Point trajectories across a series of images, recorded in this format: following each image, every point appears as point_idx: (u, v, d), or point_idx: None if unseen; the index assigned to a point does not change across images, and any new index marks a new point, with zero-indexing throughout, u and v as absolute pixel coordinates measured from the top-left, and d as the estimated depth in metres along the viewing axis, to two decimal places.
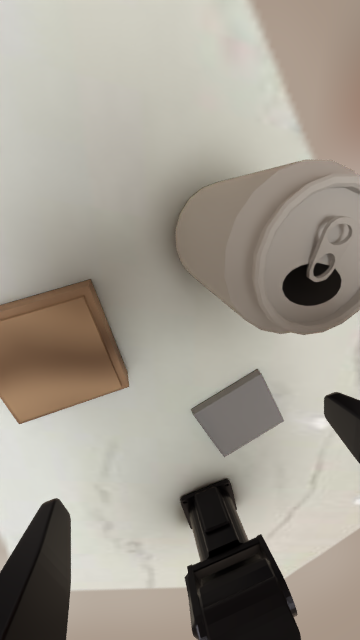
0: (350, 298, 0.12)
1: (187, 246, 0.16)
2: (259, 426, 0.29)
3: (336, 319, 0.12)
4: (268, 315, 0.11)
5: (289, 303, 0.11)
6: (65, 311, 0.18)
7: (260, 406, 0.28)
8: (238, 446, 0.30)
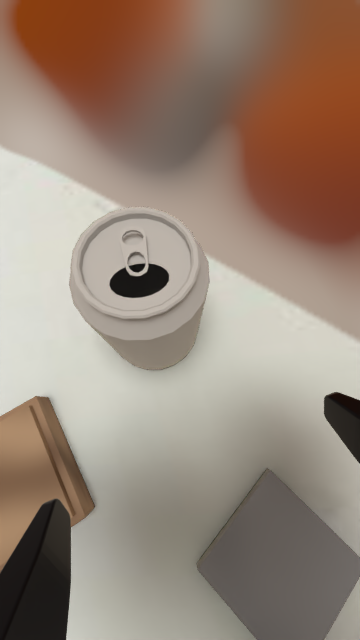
0: (186, 281, 0.13)
1: None
2: (327, 584, 0.17)
3: (173, 297, 0.12)
4: (97, 307, 0.12)
5: (123, 299, 0.12)
6: (11, 424, 0.19)
7: (302, 536, 0.18)
8: None
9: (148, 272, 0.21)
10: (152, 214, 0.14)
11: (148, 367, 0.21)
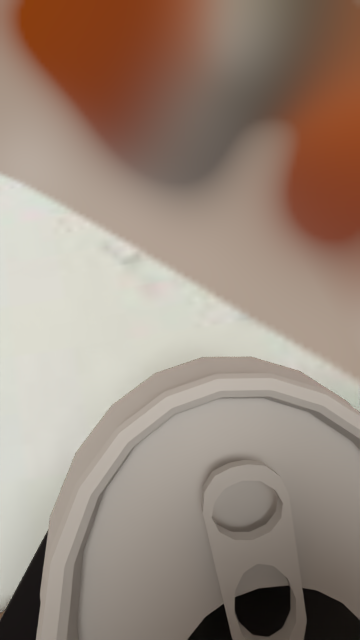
0: None
1: None
2: None
3: None
4: None
5: None
6: None
7: None
8: None
9: None
10: (288, 399, 0.05)
11: None
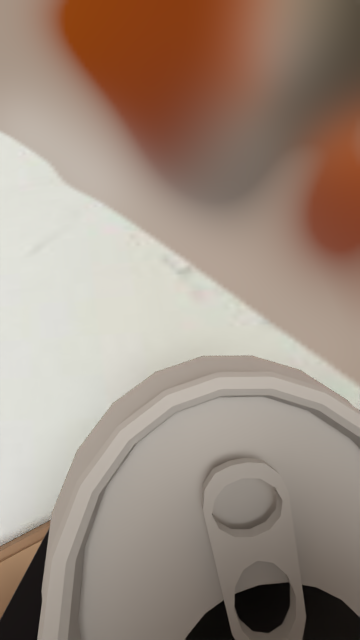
0: None
1: None
2: None
3: None
4: None
5: None
6: None
7: None
8: None
9: None
10: (288, 397, 0.05)
11: None
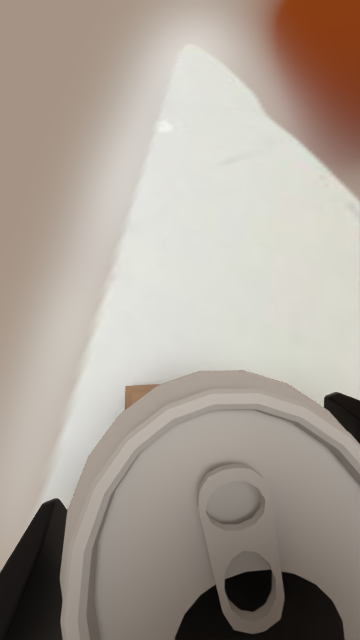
0: None
1: None
2: None
3: None
4: None
5: None
6: None
7: None
8: None
9: None
10: (273, 411, 0.05)
11: None
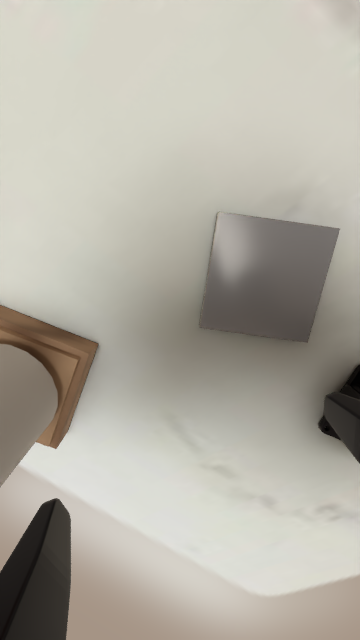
0: None
1: None
2: (308, 268, 0.18)
3: None
4: None
5: None
6: None
7: (273, 246, 0.18)
8: (310, 315, 0.19)
9: None
10: None
11: (45, 427, 0.18)
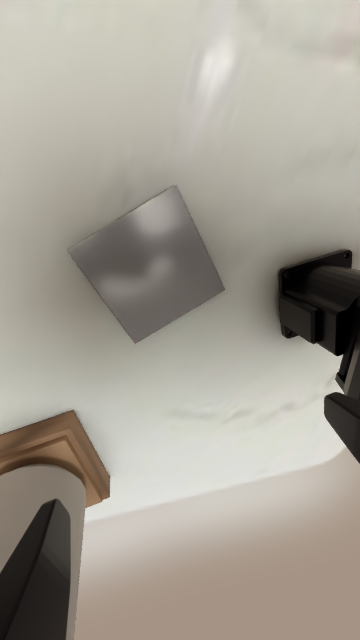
0: None
1: None
2: (178, 235, 0.18)
3: None
4: None
5: None
6: None
7: (135, 241, 0.17)
8: (210, 268, 0.19)
9: None
10: None
11: (83, 500, 0.20)
